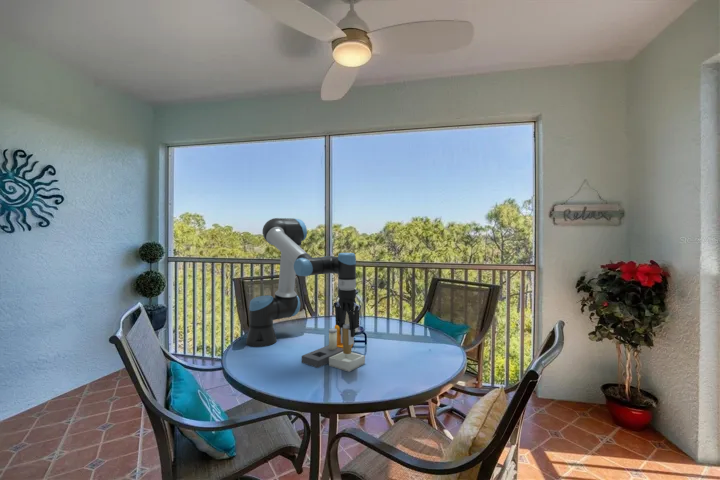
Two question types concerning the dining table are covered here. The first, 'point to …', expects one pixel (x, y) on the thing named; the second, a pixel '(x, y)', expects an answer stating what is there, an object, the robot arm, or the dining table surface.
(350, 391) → the dining table surface
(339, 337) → the bracket
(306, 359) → the fuse block
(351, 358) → the parts tray
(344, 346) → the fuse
